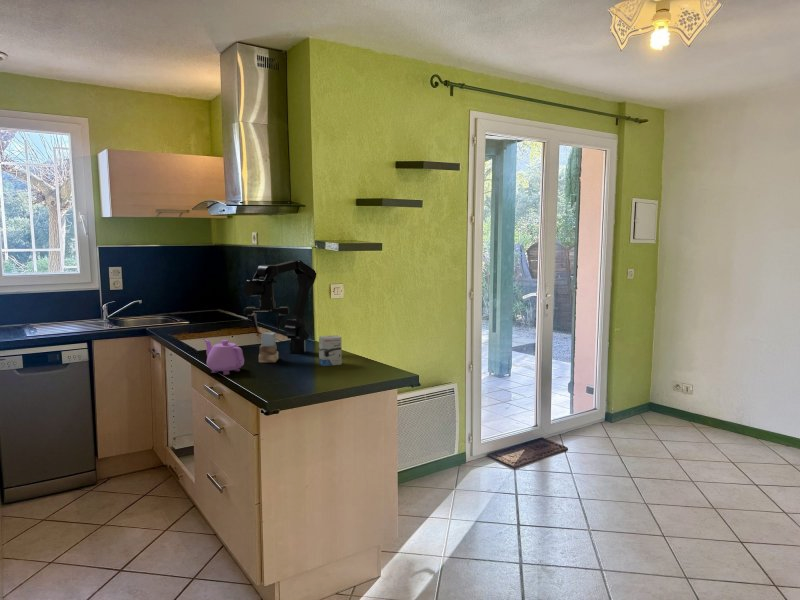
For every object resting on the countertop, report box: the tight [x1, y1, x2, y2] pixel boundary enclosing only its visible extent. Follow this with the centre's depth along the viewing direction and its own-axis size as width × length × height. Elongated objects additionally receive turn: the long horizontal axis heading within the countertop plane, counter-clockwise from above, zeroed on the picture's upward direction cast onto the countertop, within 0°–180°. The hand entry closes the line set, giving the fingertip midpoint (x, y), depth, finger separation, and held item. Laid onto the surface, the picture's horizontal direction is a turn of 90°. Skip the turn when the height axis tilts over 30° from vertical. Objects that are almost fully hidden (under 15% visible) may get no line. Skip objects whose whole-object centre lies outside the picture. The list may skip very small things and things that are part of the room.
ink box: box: [318, 334, 343, 367], centre depth 233 cm, size 8×5×12 cm, turn 118°
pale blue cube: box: [260, 332, 276, 346], centre depth 239 cm, size 5×5×5 cm
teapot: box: [203, 338, 245, 376], centre depth 220 cm, size 20×14×12 cm
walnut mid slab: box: [259, 343, 278, 355], centre depth 239 cm, size 6×6×4 cm
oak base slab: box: [258, 351, 279, 363], centre depth 240 cm, size 7×7×4 cm
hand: (267, 330), depth 241 cm, fingers open, 9 cm apart
